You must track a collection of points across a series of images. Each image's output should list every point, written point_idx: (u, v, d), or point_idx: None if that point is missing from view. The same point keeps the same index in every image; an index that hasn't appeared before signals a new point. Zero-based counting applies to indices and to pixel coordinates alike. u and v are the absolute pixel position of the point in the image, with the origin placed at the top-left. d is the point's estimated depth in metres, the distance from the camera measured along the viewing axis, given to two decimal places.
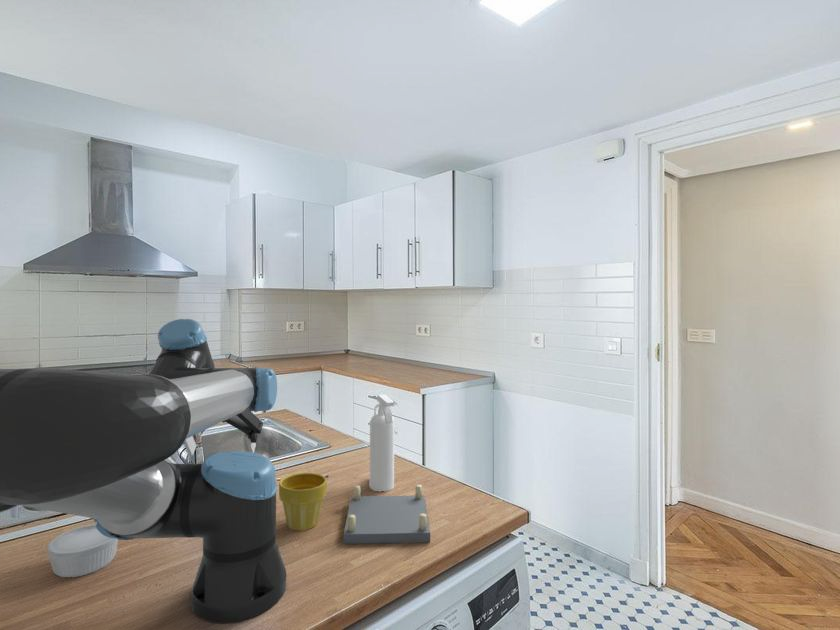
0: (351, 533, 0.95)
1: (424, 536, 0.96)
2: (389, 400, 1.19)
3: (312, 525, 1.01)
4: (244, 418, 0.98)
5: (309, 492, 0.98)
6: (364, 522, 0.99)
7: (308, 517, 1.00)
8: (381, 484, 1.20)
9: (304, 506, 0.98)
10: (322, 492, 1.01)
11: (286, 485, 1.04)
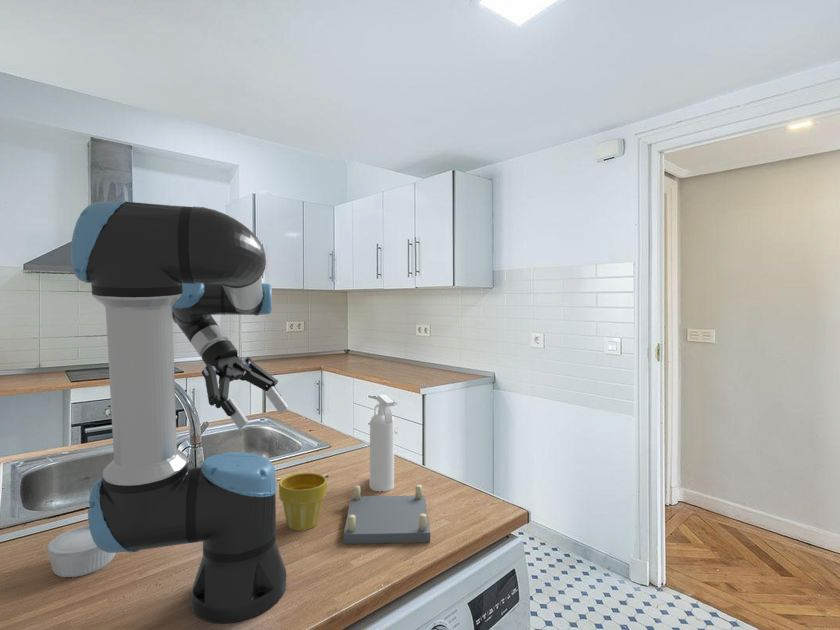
0: (351, 533, 0.95)
1: (424, 536, 0.96)
2: (389, 400, 1.19)
3: (312, 525, 1.01)
4: (260, 368, 1.15)
5: (309, 492, 0.98)
6: (364, 522, 0.99)
7: (308, 517, 1.00)
8: (381, 484, 1.20)
9: (304, 506, 0.98)
10: (322, 492, 1.01)
11: (286, 485, 1.04)
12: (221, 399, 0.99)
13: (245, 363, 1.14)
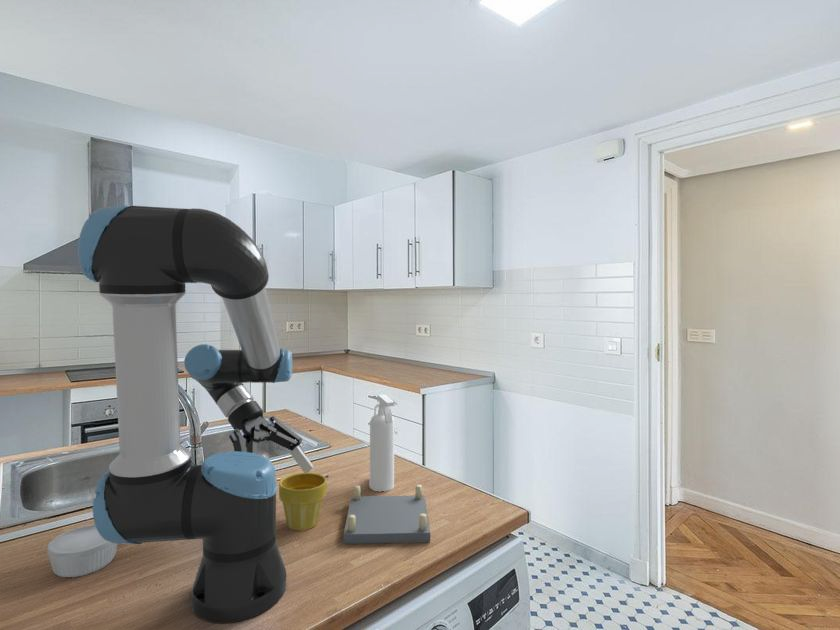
0: (351, 533, 0.95)
1: (424, 536, 0.96)
2: (389, 400, 1.19)
3: (312, 525, 1.01)
4: (284, 426, 1.15)
5: (309, 492, 0.98)
6: (364, 522, 0.99)
7: (308, 517, 1.00)
8: (381, 484, 1.20)
9: (304, 506, 0.98)
10: (322, 492, 1.01)
11: (286, 485, 1.04)
12: None
13: (270, 422, 1.13)
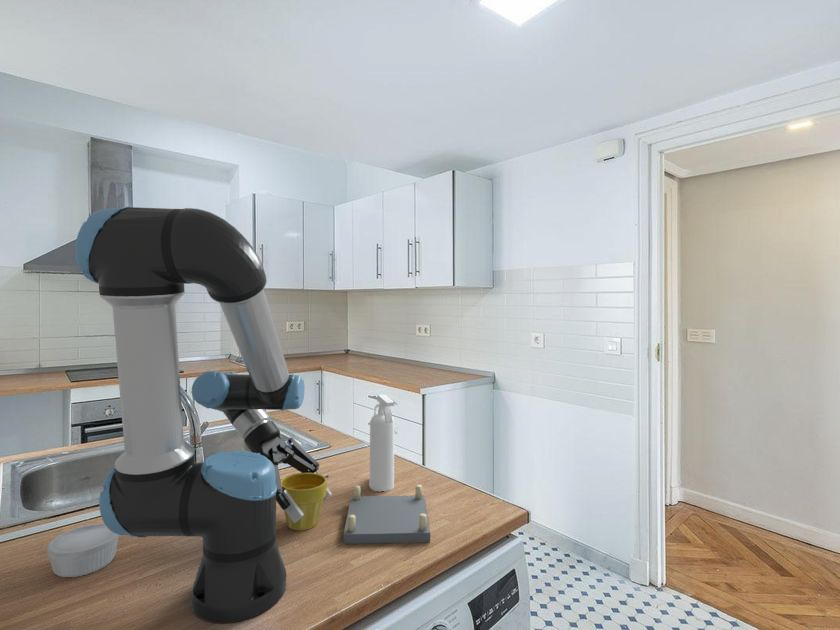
0: (351, 533, 0.95)
1: (424, 536, 0.96)
2: (389, 400, 1.19)
3: (312, 525, 1.01)
4: (302, 450, 1.11)
5: (309, 492, 0.98)
6: (364, 522, 0.99)
7: (308, 517, 1.00)
8: (381, 484, 1.20)
9: (304, 506, 0.98)
10: (322, 492, 1.01)
11: (286, 485, 1.04)
12: (276, 493, 0.96)
13: (288, 444, 1.10)
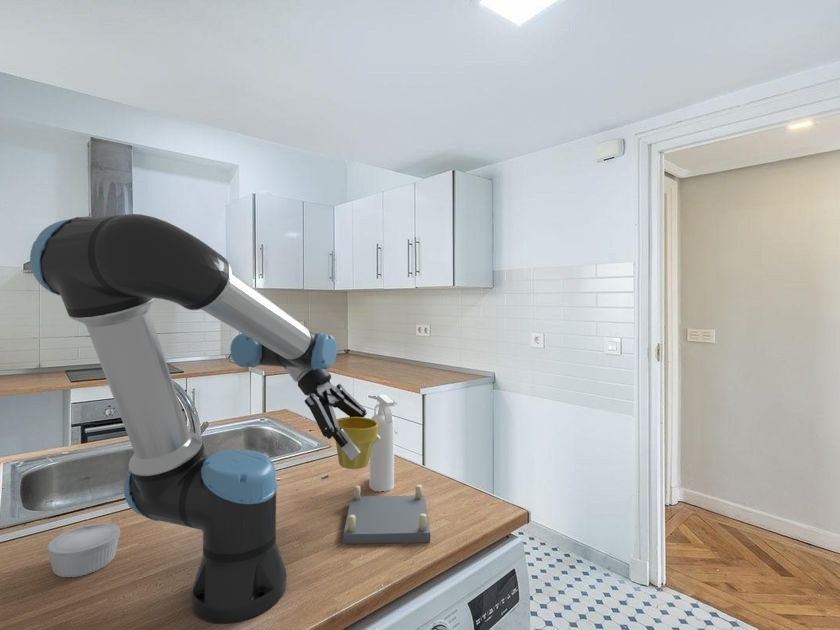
0: (351, 533, 0.95)
1: (424, 536, 0.96)
2: (389, 400, 1.19)
3: (364, 464, 1.04)
4: (350, 396, 1.14)
5: (365, 431, 1.01)
6: (364, 522, 0.99)
7: (362, 456, 1.03)
8: (381, 484, 1.20)
9: (359, 445, 1.02)
10: (375, 433, 1.04)
11: None
12: (335, 431, 0.99)
13: (337, 389, 1.13)
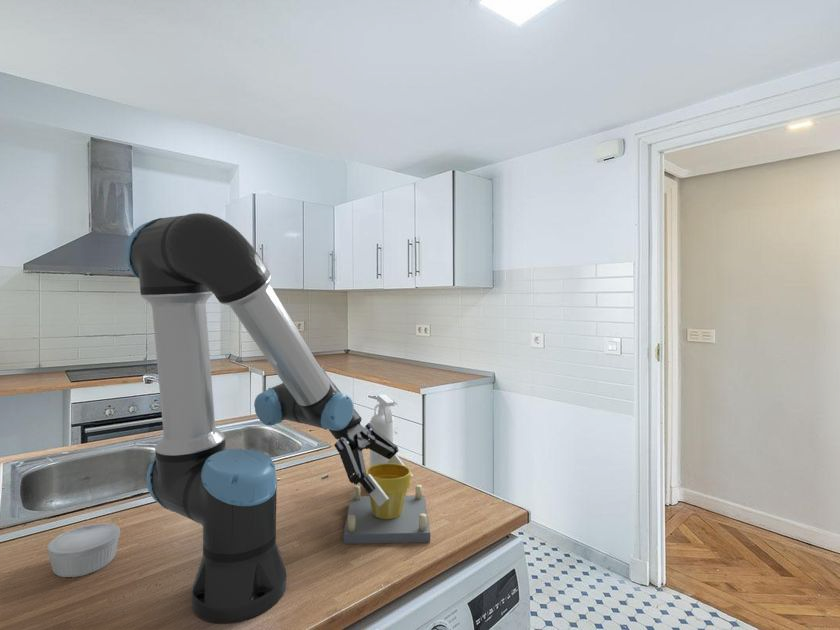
0: (351, 533, 0.95)
1: (424, 536, 0.96)
2: (389, 400, 1.19)
3: (398, 514, 1.02)
4: (380, 434, 1.12)
5: (398, 481, 0.99)
6: (364, 522, 0.99)
7: (395, 506, 1.01)
8: None
9: (392, 495, 1.00)
10: (408, 481, 1.02)
11: None
12: (361, 476, 0.97)
13: (367, 430, 1.11)
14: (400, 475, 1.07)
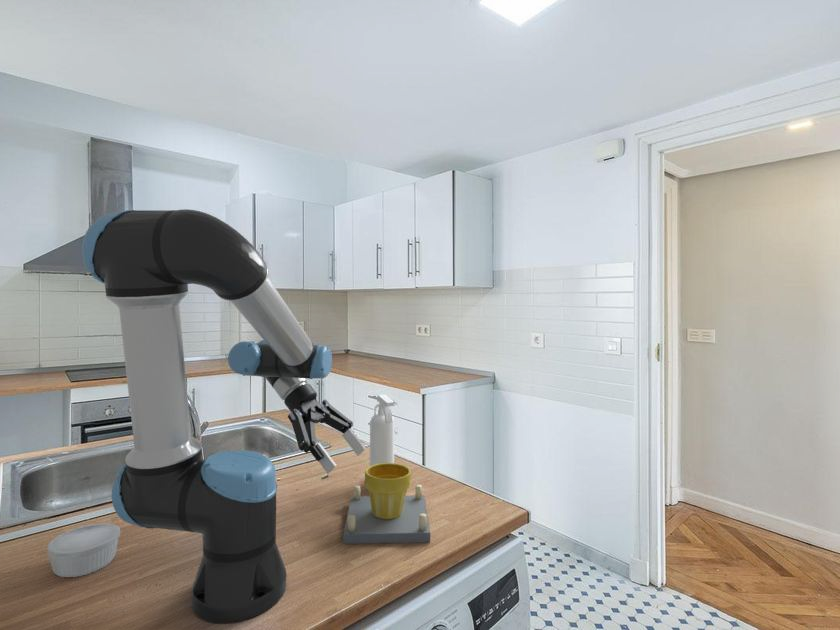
0: (351, 533, 0.95)
1: (424, 536, 0.96)
2: (389, 400, 1.19)
3: (398, 514, 1.02)
4: (336, 410, 1.18)
5: (398, 481, 0.99)
6: (364, 522, 0.99)
7: (395, 506, 1.01)
8: None
9: (392, 495, 1.00)
10: (408, 481, 1.02)
11: (369, 475, 1.06)
12: (310, 444, 1.02)
13: (323, 405, 1.17)
14: (400, 475, 1.07)
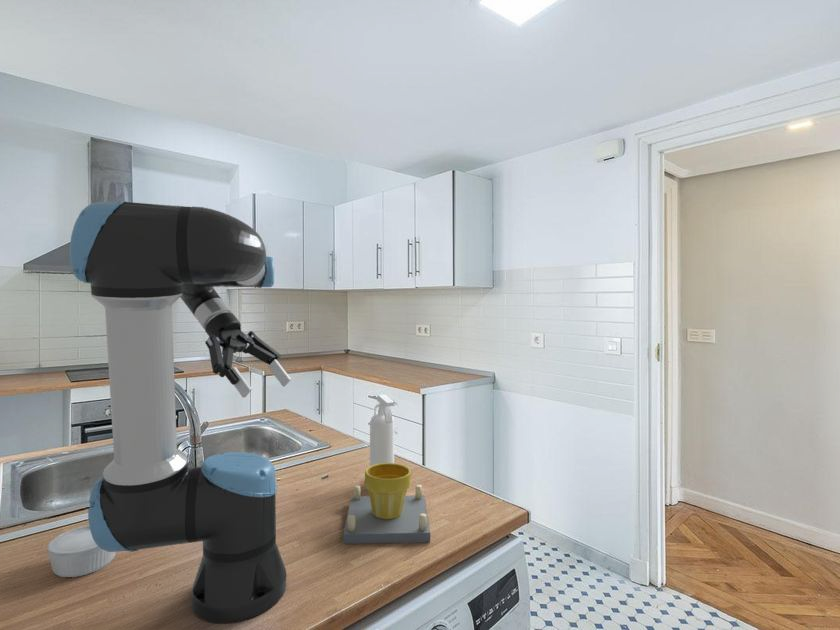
0: (351, 533, 0.95)
1: (424, 536, 0.96)
2: (389, 400, 1.19)
3: (398, 514, 1.02)
4: (263, 342, 1.16)
5: (398, 481, 0.99)
6: (364, 522, 0.99)
7: (395, 506, 1.01)
8: None
9: (392, 495, 1.00)
10: (408, 481, 1.02)
11: (369, 475, 1.06)
12: (225, 367, 1.00)
13: (248, 337, 1.14)
14: (400, 475, 1.07)
